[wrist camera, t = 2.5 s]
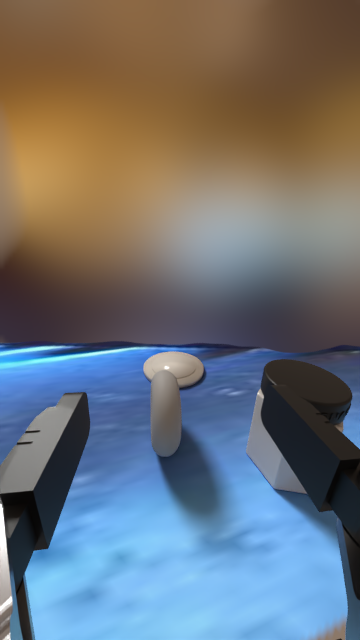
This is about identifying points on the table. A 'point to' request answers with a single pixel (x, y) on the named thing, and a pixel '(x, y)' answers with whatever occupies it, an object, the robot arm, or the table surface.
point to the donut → (165, 413)
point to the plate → (175, 367)
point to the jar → (313, 388)
